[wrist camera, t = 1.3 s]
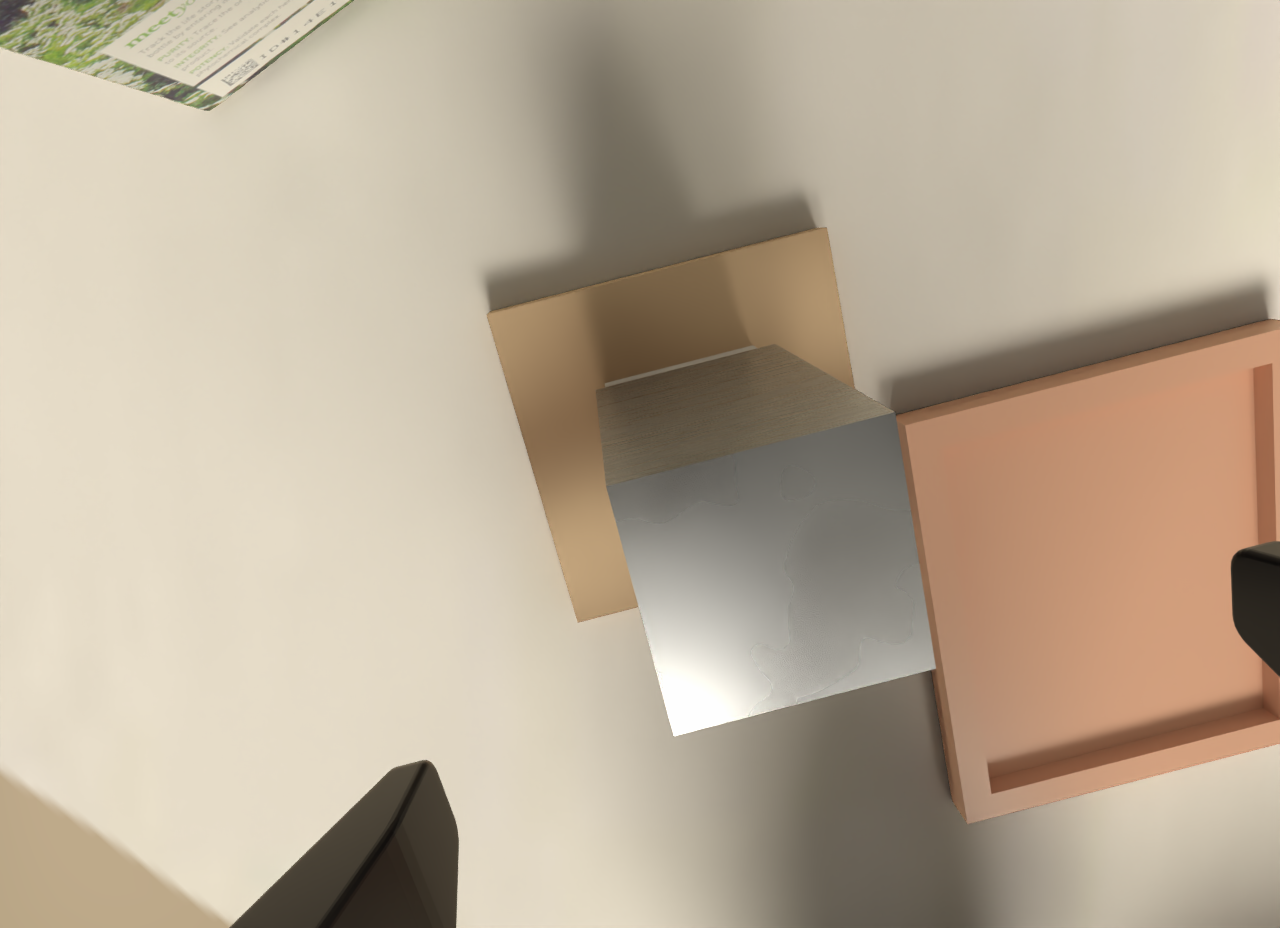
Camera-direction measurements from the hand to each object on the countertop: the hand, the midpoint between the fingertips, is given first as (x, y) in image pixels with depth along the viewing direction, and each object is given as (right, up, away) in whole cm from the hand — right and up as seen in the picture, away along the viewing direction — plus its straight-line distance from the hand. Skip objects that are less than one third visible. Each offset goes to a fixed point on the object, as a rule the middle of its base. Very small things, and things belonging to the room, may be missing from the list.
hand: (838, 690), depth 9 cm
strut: (-1, +3, +9) cm, 10 cm away
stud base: (-1, +3, +12) cm, 12 cm away
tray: (+10, -1, +14) cm, 17 cm away
